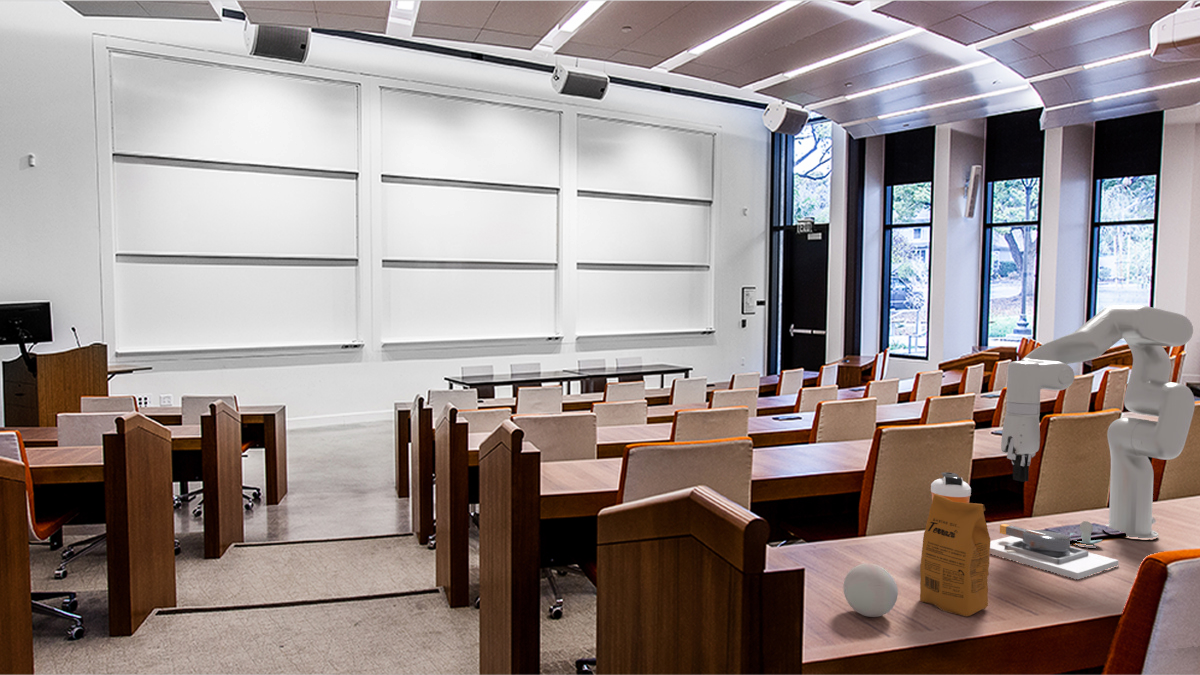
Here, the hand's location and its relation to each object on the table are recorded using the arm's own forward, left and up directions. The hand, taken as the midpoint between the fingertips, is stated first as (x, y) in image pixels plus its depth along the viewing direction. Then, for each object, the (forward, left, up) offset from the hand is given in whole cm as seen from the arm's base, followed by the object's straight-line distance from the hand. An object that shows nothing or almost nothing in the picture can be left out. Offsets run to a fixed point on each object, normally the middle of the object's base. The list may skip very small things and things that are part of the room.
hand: (1020, 480), depth 196 cm
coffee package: (+52, +17, -17) cm, 57 cm away
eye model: (+71, +12, -17) cm, 74 cm away
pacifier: (-15, +9, -17) cm, 24 cm away
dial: (+5, +6, -15) cm, 17 cm away
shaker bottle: (+24, -3, -17) cm, 29 cm away
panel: (+5, +10, -17) cm, 20 cm away
